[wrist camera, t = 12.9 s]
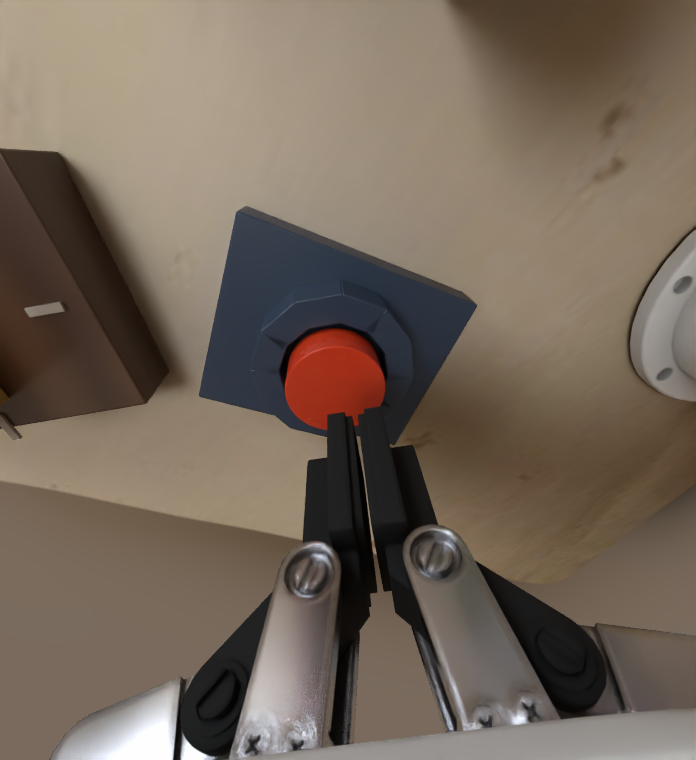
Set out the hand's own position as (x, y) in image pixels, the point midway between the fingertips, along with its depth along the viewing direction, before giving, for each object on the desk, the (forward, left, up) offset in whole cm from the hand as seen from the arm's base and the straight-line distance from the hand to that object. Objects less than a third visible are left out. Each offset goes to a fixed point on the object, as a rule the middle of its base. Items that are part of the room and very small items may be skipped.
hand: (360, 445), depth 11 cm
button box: (+1, 0, -9) cm, 9 cm away
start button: (+1, 0, -5) cm, 5 cm away
